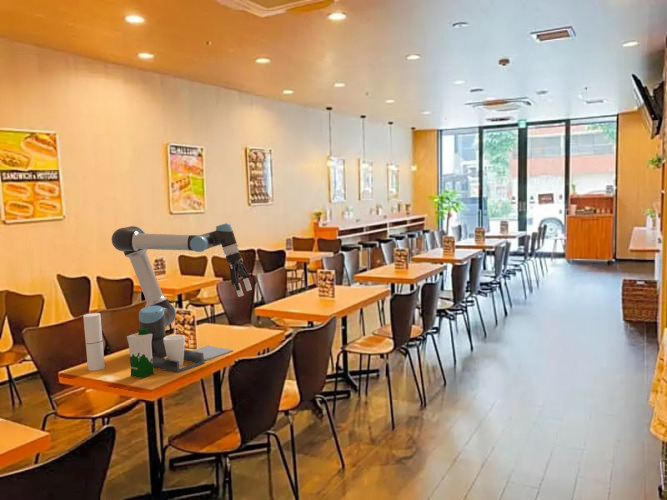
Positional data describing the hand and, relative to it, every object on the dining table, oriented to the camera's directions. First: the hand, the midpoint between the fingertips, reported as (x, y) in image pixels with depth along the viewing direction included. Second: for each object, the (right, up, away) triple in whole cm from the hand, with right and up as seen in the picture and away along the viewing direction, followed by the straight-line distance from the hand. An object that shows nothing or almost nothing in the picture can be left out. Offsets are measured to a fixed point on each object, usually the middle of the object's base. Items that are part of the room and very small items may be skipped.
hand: (245, 293), depth 289 cm
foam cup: (-28, -31, -26) cm, 49 cm away
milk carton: (-39, -33, -39) cm, 64 cm away
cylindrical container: (-64, -33, -26) cm, 77 cm away
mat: (-17, -29, -9) cm, 35 cm away
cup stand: (-28, -31, -26) cm, 49 cm away
